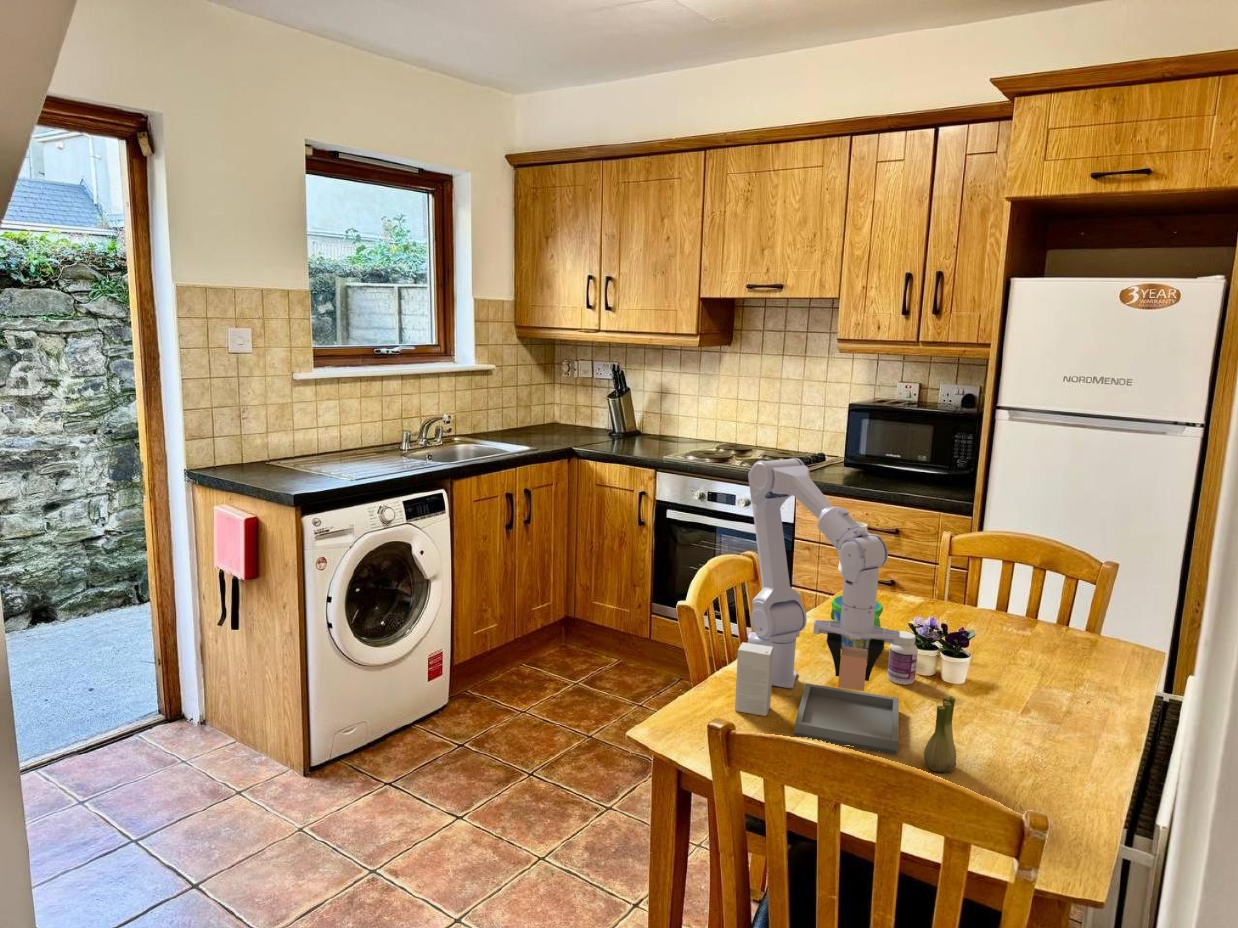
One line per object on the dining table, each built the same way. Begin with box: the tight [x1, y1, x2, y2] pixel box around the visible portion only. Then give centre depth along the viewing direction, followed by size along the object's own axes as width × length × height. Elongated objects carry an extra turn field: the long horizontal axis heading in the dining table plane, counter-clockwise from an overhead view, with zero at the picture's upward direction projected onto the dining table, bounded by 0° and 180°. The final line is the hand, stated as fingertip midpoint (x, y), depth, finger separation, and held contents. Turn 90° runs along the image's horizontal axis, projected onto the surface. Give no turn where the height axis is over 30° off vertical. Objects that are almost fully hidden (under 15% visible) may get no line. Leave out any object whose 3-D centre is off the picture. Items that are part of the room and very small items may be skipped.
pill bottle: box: [886, 630, 919, 686], centre depth 171 cm, size 5×5×10 cm
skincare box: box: [734, 641, 774, 717], centre depth 157 cm, size 6×4×12 cm
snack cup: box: [830, 595, 884, 651], centre depth 187 cm, size 16×10×10 cm
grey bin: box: [793, 682, 900, 756], centre depth 153 cm, size 17×17×2 cm
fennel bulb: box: [923, 695, 957, 773], centre depth 139 cm, size 6×5×12 cm
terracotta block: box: [837, 646, 869, 692], centre depth 152 cm, size 4×4×6 cm
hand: (852, 676), depth 152 cm, fingers closed on terracotta block, 4 cm apart
